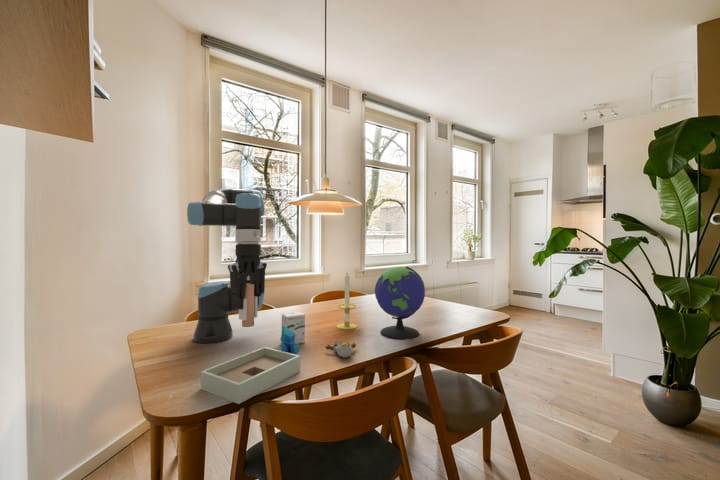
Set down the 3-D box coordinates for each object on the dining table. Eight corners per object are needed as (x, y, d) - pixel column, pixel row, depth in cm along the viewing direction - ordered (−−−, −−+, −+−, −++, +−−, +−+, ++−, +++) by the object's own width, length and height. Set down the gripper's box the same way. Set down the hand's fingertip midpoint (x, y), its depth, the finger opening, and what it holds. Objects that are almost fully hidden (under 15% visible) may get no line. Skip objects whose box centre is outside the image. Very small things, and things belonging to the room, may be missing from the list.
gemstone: (276, 364, 111) (276, 328, 111) (281, 354, 119) (281, 322, 119) (298, 363, 111) (298, 328, 111) (301, 354, 120) (302, 321, 120)
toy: (352, 335, 131) (362, 342, 117) (352, 349, 130) (362, 358, 116) (322, 337, 128) (329, 345, 114) (322, 351, 127) (329, 361, 113)
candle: (357, 329, 152) (357, 271, 151) (335, 329, 152) (335, 271, 151) (357, 323, 161) (357, 269, 161) (337, 323, 162) (337, 269, 161)
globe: (385, 324, 161) (385, 263, 160) (430, 330, 151) (430, 265, 151) (366, 337, 141) (366, 267, 140) (416, 344, 131) (417, 270, 131)
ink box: (285, 346, 128) (285, 316, 128) (280, 342, 133) (281, 313, 132) (305, 342, 133) (305, 313, 133) (300, 339, 137) (300, 311, 137)
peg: (239, 326, 102) (239, 284, 102) (248, 323, 105) (248, 283, 105) (247, 327, 100) (247, 285, 100) (256, 325, 103) (256, 283, 103)
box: (200, 389, 92) (200, 371, 92) (264, 361, 113) (264, 346, 113) (238, 404, 84) (238, 384, 84) (300, 371, 105) (300, 355, 105)
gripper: (233, 243, 93) (233, 325, 93) (276, 243, 108) (276, 314, 107) (217, 243, 97) (217, 322, 97) (260, 243, 111) (260, 312, 111)
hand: (248, 317), depth 102 cm, fingers closed on peg, 3 cm apart
